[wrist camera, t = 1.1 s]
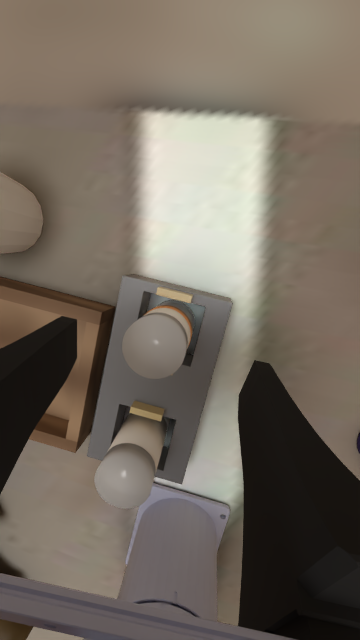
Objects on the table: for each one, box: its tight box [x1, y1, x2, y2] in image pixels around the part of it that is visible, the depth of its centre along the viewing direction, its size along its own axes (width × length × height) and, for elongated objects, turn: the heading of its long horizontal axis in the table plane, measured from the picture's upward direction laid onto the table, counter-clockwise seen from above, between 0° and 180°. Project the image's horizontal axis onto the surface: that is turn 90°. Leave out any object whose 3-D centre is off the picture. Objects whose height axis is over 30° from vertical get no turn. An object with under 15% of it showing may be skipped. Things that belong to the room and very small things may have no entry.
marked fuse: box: [122, 300, 195, 379], centre depth 20 cm, size 4×4×8 cm
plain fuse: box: [95, 413, 170, 509], centre depth 22 cm, size 4×4×8 cm
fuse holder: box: [87, 274, 233, 484], centre depth 23 cm, size 15×8×4 cm, turn 166°
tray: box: [0, 277, 115, 453], centre depth 25 cm, size 12×12×3 cm
